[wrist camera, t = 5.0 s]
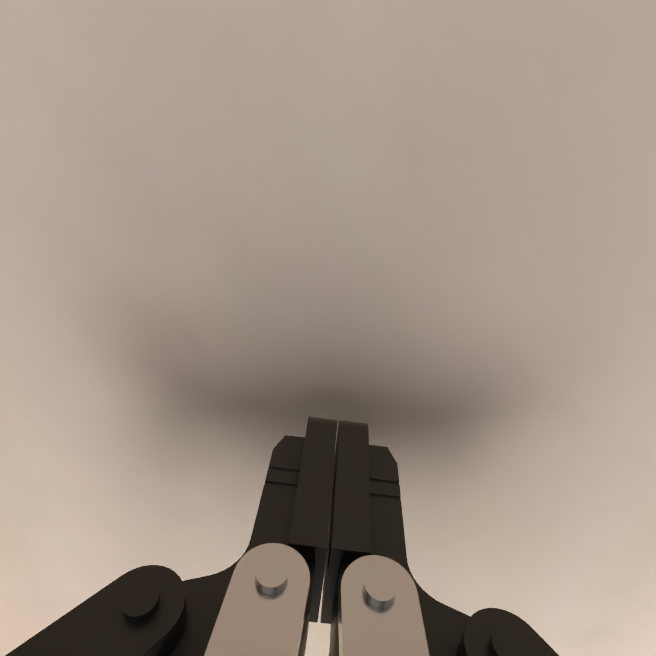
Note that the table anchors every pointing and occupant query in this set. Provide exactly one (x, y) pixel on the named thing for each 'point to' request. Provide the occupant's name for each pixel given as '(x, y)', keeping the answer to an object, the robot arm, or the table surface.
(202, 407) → the table surface
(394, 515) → the robot arm
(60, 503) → the table surface
